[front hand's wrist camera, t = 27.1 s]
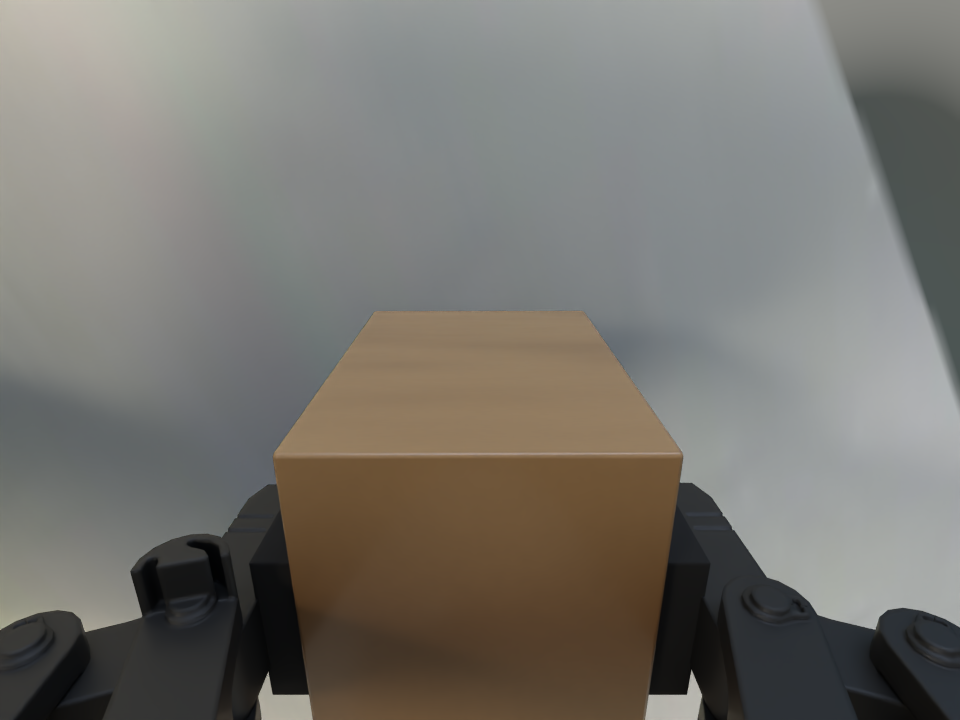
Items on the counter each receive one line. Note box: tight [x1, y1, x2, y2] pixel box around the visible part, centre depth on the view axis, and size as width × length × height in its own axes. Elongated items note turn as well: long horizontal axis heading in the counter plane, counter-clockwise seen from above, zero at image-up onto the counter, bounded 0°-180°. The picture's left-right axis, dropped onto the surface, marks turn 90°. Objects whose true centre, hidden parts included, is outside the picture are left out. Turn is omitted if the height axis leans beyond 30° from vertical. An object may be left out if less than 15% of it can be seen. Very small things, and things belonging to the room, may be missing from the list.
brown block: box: [273, 311, 683, 720], centre depth 12 cm, size 7×5×7 cm
